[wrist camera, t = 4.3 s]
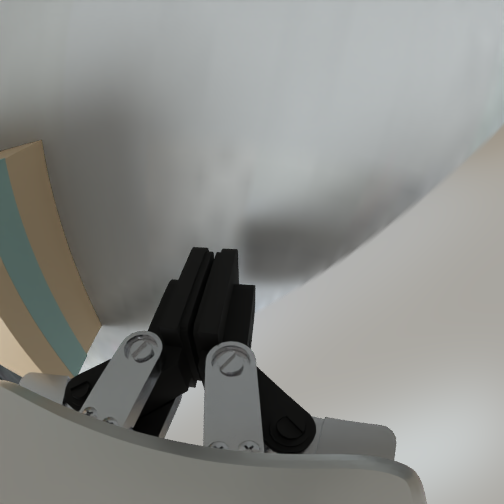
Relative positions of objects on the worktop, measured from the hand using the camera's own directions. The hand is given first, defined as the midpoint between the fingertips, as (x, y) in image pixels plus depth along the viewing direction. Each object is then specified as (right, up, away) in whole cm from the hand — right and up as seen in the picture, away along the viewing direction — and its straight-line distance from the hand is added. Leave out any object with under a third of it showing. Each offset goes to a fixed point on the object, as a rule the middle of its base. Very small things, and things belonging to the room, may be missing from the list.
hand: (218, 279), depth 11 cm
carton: (-13, +2, +2) cm, 13 cm away
